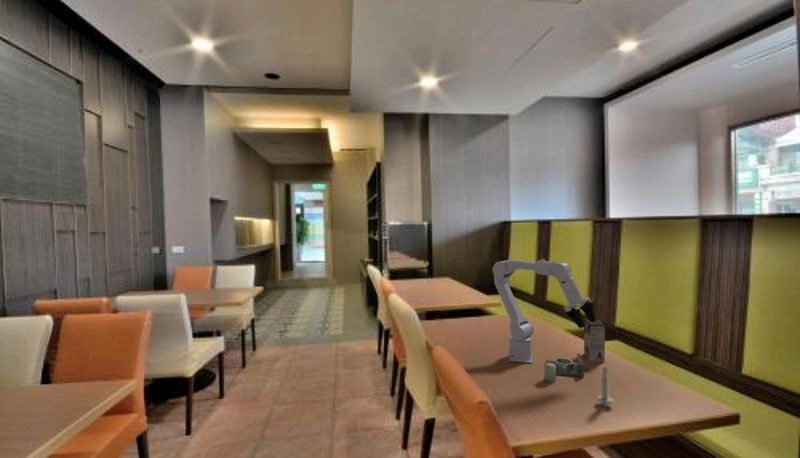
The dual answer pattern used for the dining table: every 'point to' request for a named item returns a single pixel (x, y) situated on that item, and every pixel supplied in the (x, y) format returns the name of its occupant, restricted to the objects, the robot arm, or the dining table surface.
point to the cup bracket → (568, 367)
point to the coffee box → (594, 340)
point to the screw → (605, 391)
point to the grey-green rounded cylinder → (550, 372)
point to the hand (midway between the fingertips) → (587, 324)
